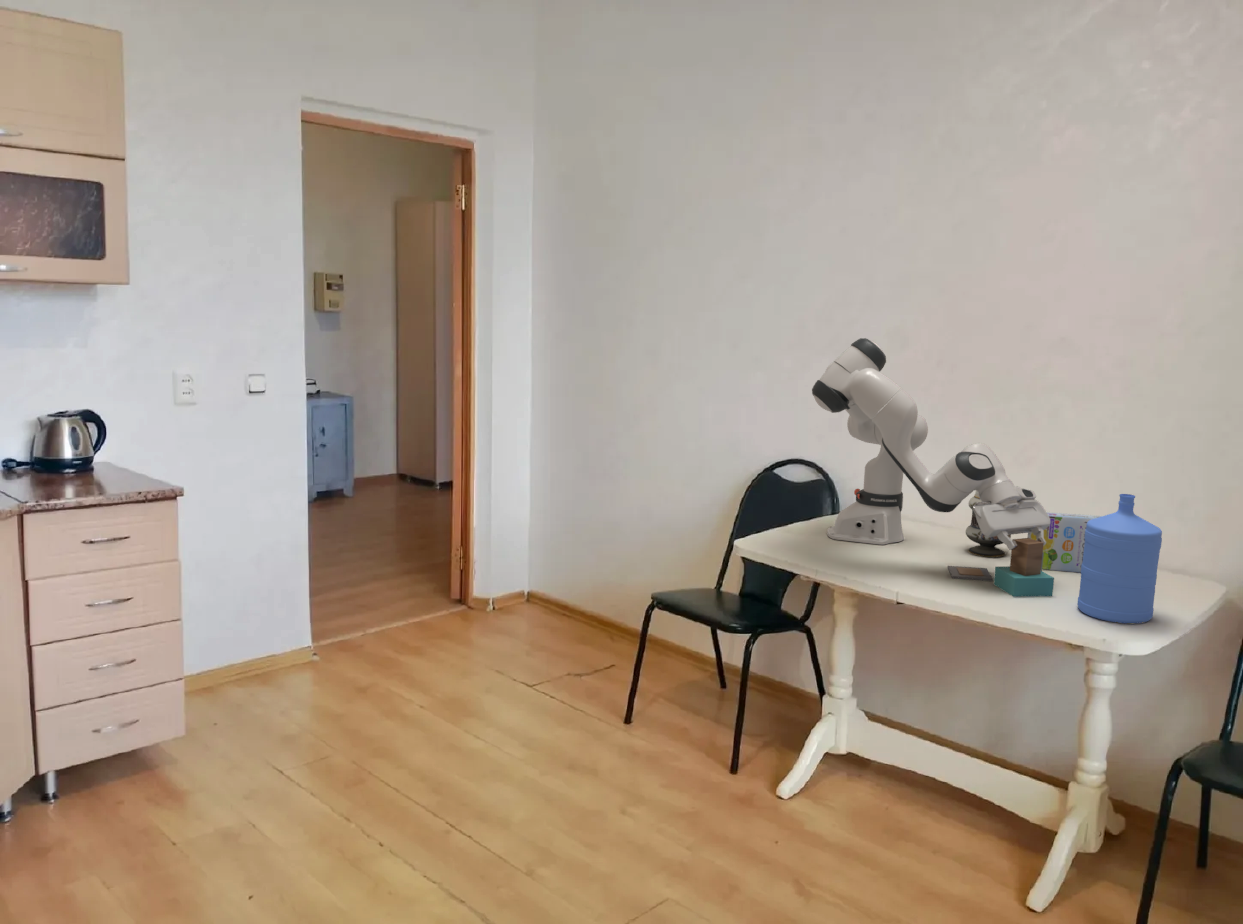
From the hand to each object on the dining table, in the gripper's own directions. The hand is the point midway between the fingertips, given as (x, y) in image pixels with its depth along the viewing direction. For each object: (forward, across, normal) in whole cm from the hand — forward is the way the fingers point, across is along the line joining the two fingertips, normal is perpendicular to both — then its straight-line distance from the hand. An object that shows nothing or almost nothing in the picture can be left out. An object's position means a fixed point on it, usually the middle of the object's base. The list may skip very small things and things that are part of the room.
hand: (1028, 547), depth 237 cm
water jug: (+23, +6, -7) cm, 25 cm away
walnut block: (+4, 0, +5) cm, 6 cm away
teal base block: (+8, 0, +8) cm, 11 cm away
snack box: (+1, +26, +15) cm, 30 cm away
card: (-3, -3, +19) cm, 19 cm away
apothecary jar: (-14, +18, +30) cm, 37 cm away
